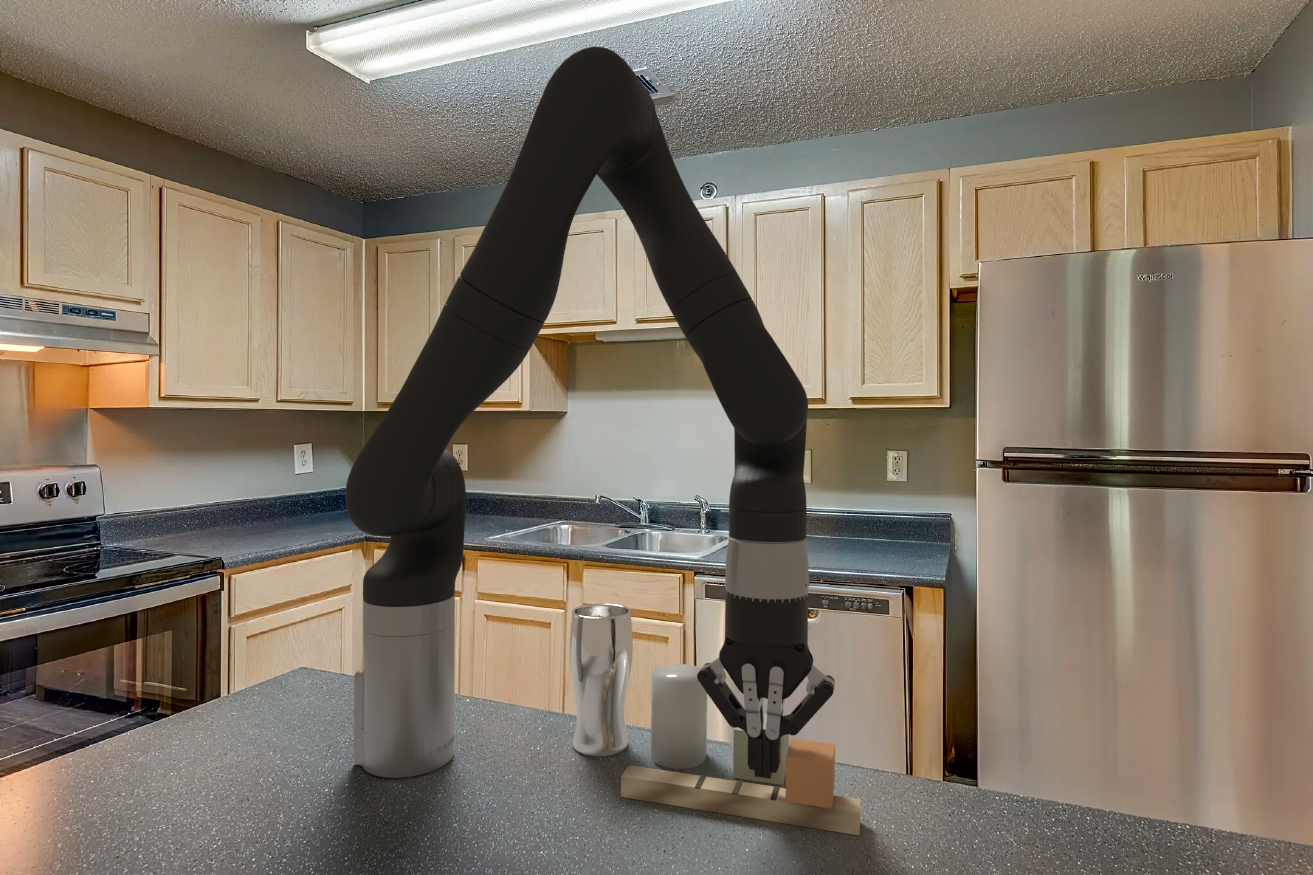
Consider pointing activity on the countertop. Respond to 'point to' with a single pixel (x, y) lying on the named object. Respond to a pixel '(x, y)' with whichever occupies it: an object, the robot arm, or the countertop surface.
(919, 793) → the countertop surface
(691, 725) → the grey rounded cylinder
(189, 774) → the countertop surface
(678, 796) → the rail
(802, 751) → the block
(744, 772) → the sage block
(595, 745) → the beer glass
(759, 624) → the robot arm
